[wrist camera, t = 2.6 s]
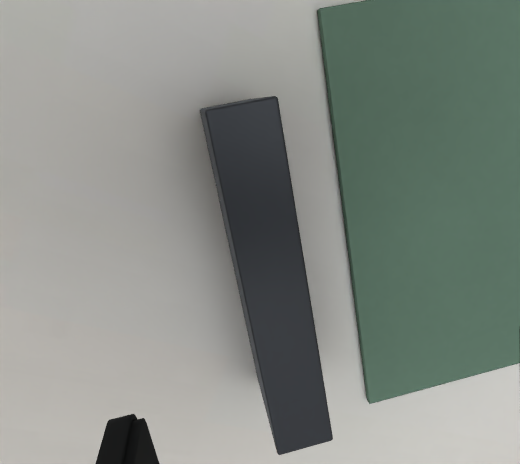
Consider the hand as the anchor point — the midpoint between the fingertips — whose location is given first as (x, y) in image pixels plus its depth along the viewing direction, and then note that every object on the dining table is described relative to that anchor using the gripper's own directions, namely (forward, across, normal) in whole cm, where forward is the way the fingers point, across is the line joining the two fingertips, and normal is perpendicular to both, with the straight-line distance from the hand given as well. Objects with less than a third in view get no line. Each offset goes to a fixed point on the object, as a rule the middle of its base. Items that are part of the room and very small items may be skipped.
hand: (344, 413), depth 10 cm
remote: (+9, 0, 0) cm, 9 cm away
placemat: (+11, -10, 0) cm, 16 cm away
